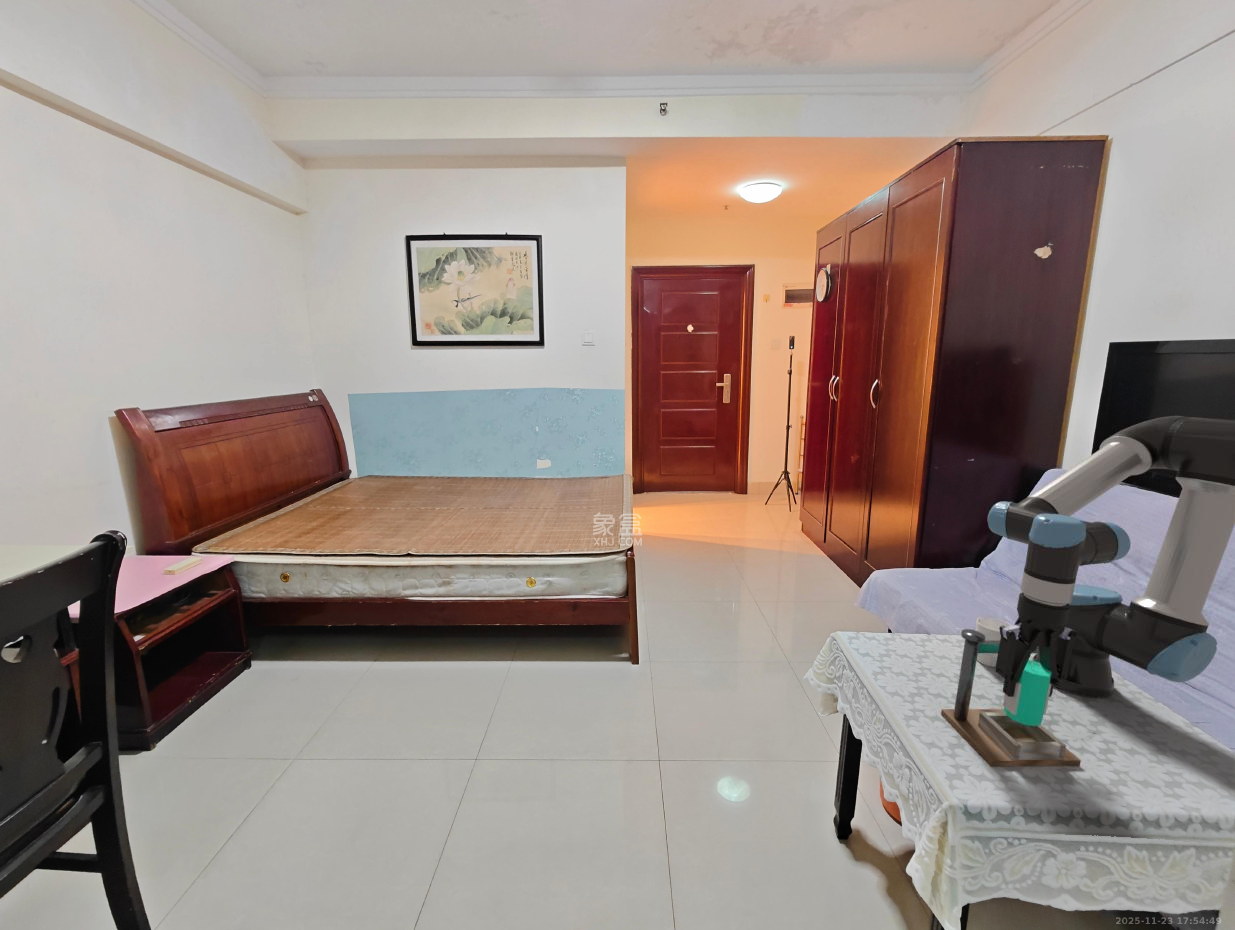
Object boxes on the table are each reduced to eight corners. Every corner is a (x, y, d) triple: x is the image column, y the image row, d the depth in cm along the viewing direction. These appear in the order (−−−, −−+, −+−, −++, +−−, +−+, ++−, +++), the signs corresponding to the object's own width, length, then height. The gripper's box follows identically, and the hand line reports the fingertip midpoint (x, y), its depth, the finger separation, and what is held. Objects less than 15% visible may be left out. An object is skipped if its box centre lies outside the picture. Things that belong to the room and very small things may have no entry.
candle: (1017, 725, 100) (1027, 667, 98) (996, 705, 106) (1006, 650, 104) (1050, 727, 100) (1061, 669, 98) (1027, 706, 106) (1037, 651, 104)
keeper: (1027, 710, 113) (1042, 629, 110) (1042, 723, 109) (1059, 639, 106) (944, 710, 113) (957, 629, 109) (957, 723, 109) (970, 639, 105)
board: (1018, 714, 114) (1021, 696, 114) (1079, 766, 100) (1083, 746, 99) (940, 714, 114) (943, 696, 113) (991, 766, 99) (994, 746, 98)
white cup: (1015, 671, 131) (1021, 633, 129) (979, 667, 132) (985, 630, 130) (999, 654, 138) (1005, 618, 136) (965, 650, 140) (971, 615, 138)
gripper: (1074, 589, 102) (1052, 698, 107) (983, 588, 102) (965, 698, 106) (1110, 607, 95) (1086, 723, 99) (1013, 606, 94) (992, 722, 99)
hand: (1023, 710), depth 103 cm, fingers closed on candle, 5 cm apart
